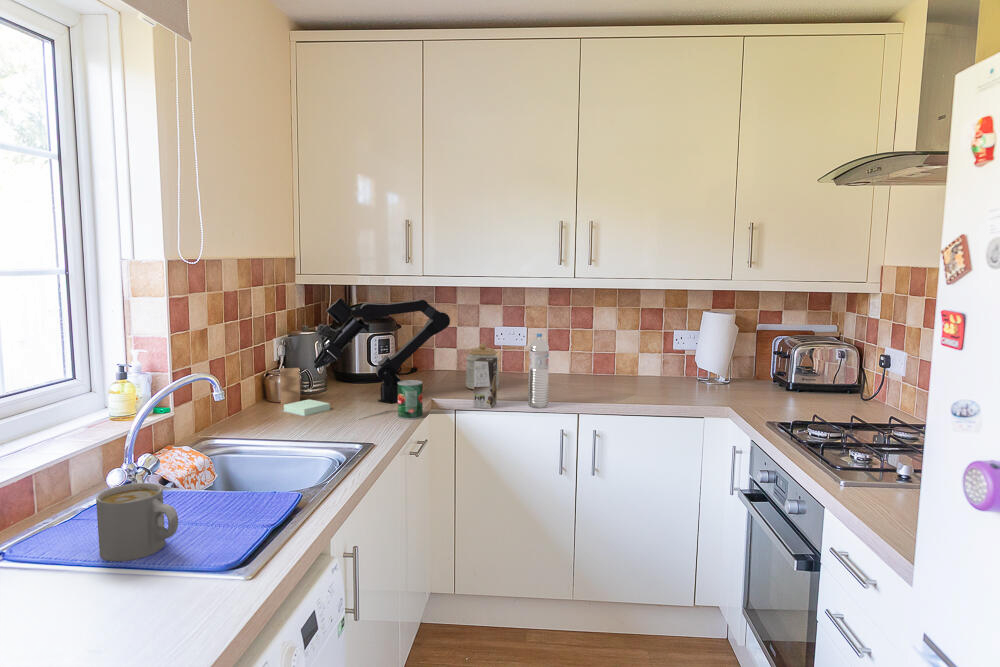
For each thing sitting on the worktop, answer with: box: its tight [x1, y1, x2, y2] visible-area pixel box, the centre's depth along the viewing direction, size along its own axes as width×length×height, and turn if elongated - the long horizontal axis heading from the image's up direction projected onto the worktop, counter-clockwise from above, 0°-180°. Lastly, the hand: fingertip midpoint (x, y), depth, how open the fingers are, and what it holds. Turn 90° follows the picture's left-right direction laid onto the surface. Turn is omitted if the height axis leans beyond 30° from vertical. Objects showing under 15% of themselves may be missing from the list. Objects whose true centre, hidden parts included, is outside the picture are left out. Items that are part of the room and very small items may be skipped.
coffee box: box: [473, 357, 498, 409], centre depth 224 cm, size 9×6×16 cm
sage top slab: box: [283, 399, 331, 417], centre depth 209 cm, size 10×10×2 cm
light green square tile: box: [282, 408, 332, 417], centre depth 210 cm, size 11×11×2 cm
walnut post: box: [279, 367, 301, 406], centre depth 220 cm, size 6×6×12 cm
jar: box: [465, 342, 500, 388], centre depth 253 cm, size 13×13×18 cm
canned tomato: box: [397, 379, 424, 420], centre depth 208 cm, size 8×8×11 cm
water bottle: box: [527, 333, 550, 409], centre depth 224 cm, size 7×7×25 cm
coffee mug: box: [95, 482, 179, 562], centre depth 113 cm, size 13×10×10 cm
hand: (315, 365), depth 221 cm, fingers open, 9 cm apart
